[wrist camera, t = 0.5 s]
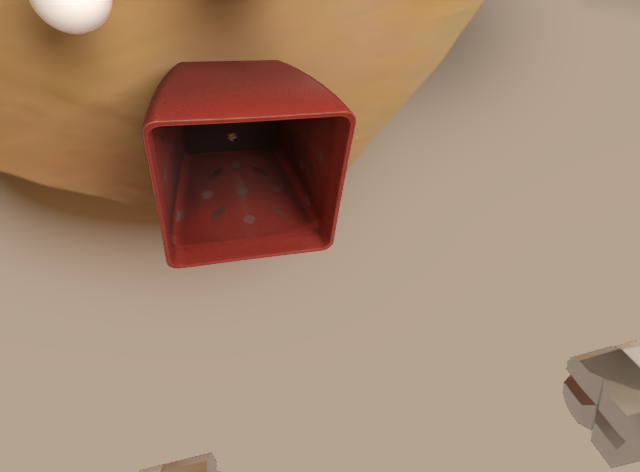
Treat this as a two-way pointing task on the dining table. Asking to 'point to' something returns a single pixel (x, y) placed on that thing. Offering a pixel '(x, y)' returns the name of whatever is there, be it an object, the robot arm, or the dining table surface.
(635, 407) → the robot arm
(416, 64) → the dining table surface
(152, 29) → the dining table surface
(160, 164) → the plant pot
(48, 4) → the lightbulb
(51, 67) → the dining table surface
